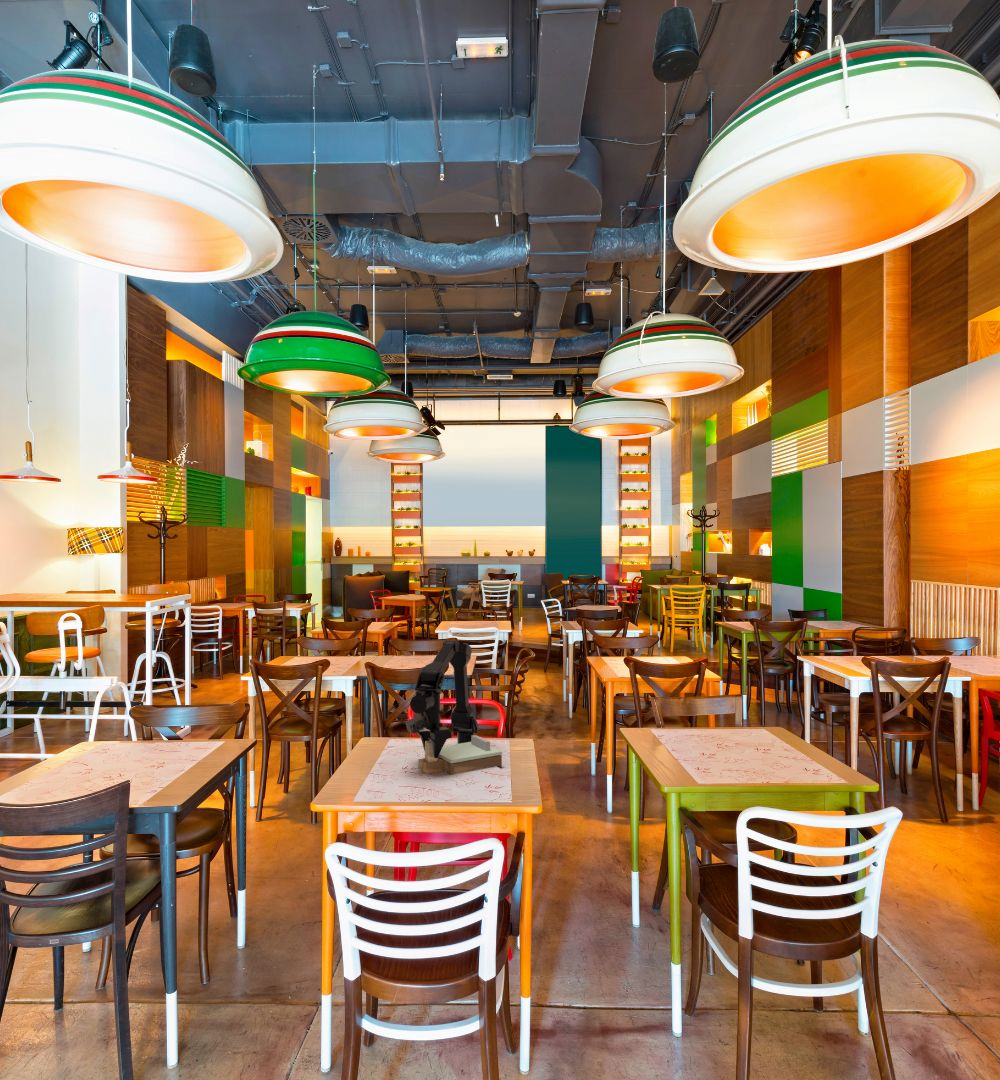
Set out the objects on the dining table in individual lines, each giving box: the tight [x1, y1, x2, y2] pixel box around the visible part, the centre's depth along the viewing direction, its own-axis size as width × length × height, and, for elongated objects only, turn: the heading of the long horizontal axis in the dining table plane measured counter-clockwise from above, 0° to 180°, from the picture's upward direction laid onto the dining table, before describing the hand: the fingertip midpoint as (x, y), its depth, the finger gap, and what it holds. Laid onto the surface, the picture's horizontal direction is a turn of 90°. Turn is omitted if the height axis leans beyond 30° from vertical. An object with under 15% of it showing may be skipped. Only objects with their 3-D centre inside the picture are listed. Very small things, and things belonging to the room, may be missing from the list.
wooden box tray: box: [417, 755, 503, 776], centre depth 220 cm, size 16×25×4 cm, turn 122°
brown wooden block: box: [424, 740, 437, 763], centre depth 215 cm, size 3×3×9 cm
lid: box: [438, 734, 503, 763], centre depth 221 cm, size 16×19×4 cm
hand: (431, 755), depth 215 cm, fingers open, 7 cm apart
